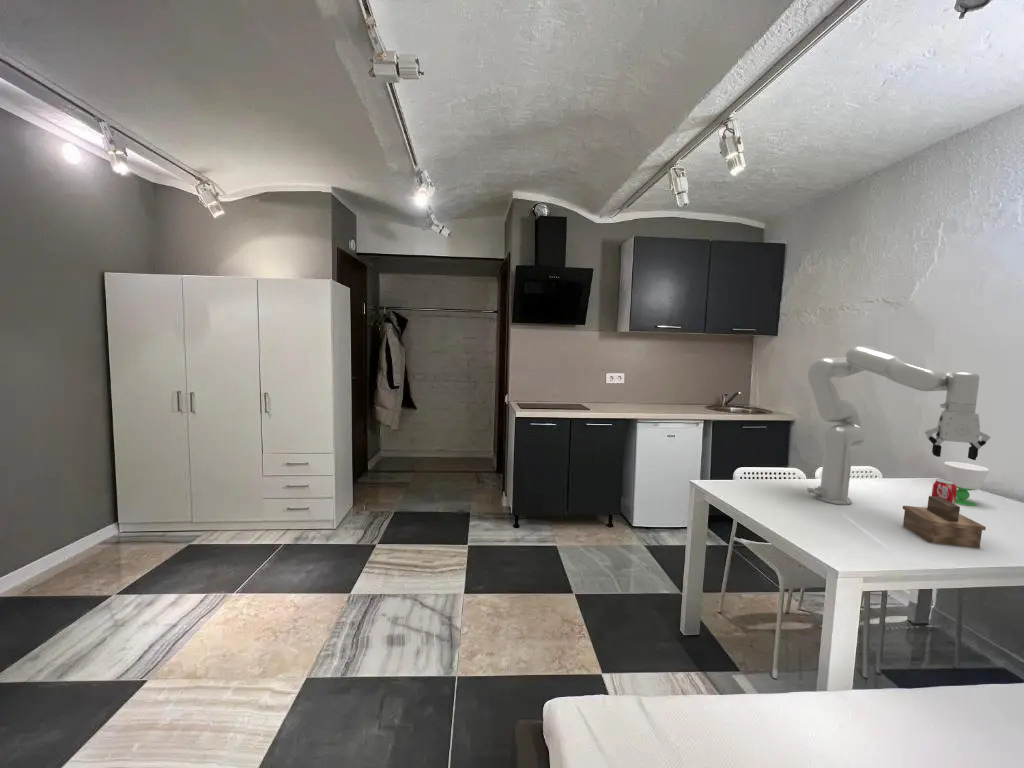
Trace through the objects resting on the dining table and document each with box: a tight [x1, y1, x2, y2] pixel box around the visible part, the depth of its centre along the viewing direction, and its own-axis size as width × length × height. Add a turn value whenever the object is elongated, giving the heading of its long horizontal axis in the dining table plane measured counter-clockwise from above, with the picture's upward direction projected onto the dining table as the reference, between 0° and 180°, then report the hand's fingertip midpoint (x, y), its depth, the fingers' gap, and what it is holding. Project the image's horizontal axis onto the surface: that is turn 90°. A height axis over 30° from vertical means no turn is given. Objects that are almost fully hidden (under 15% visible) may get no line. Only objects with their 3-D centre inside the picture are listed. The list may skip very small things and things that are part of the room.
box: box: [902, 510, 983, 549], centre depth 157 cm, size 14×14×7 cm
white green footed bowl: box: [943, 461, 990, 507], centre depth 196 cm, size 14×14×16 cm
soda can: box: [931, 478, 958, 505], centre depth 185 cm, size 7×7×12 cm
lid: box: [902, 495, 987, 531], centre depth 156 cm, size 15×15×7 cm
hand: (953, 457), depth 159 cm, fingers open, 9 cm apart
